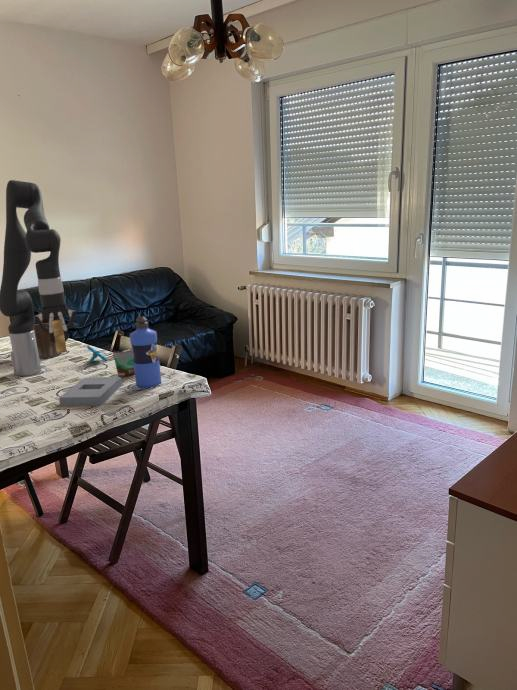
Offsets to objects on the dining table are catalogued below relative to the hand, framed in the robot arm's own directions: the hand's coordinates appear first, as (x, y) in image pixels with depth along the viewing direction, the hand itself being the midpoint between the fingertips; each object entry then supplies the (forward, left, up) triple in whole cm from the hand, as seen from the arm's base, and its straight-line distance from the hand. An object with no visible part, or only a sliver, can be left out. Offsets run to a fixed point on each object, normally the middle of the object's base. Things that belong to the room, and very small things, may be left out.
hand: (59, 341), depth 177 cm
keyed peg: (0, 0, -3) cm, 3 cm away
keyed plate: (+9, 0, -19) cm, 21 cm away
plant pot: (-34, +52, -20) cm, 66 cm away
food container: (+16, +22, -20) cm, 34 cm away
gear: (-6, +41, -20) cm, 46 cm away
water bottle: (+26, +10, -20) cm, 34 cm away
